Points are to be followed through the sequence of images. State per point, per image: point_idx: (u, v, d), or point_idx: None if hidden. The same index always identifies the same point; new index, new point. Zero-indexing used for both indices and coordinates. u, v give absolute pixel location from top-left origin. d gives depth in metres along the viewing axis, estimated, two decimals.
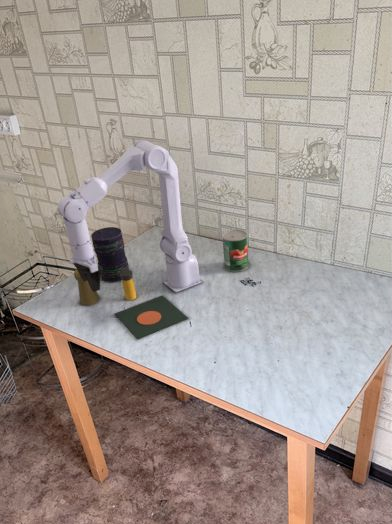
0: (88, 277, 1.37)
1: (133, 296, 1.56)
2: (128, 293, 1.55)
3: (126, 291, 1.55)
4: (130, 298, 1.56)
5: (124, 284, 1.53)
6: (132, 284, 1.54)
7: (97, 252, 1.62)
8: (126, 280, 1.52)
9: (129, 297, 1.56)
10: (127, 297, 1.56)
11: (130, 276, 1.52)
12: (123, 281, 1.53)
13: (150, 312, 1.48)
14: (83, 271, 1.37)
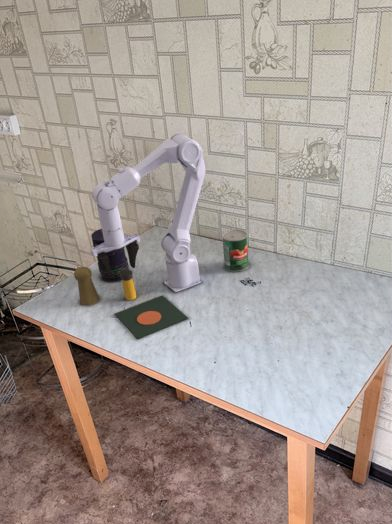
0: None
1: (133, 296, 1.56)
2: (128, 293, 1.55)
3: (126, 291, 1.55)
4: (130, 298, 1.56)
5: (124, 284, 1.53)
6: (132, 284, 1.54)
7: None
8: (126, 280, 1.52)
9: (129, 297, 1.56)
10: (127, 297, 1.56)
11: (130, 276, 1.52)
12: (123, 281, 1.53)
13: (150, 312, 1.48)
14: None
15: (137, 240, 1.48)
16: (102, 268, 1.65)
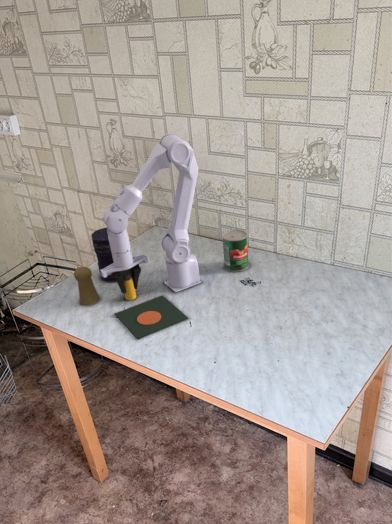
0: None
1: (133, 296, 1.56)
2: (128, 293, 1.55)
3: (126, 291, 1.55)
4: (130, 298, 1.56)
5: (124, 284, 1.53)
6: (132, 284, 1.54)
7: (97, 252, 1.62)
8: (126, 280, 1.52)
9: (129, 297, 1.56)
10: (127, 297, 1.56)
11: (130, 276, 1.52)
12: None
13: (150, 312, 1.48)
14: None
15: (145, 261, 1.53)
16: (102, 268, 1.65)
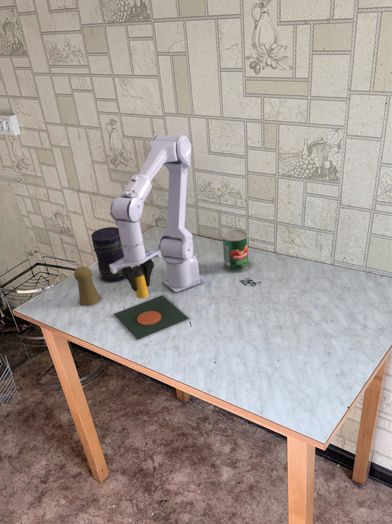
0: None
1: (144, 293, 1.42)
2: (140, 291, 1.41)
3: (137, 288, 1.41)
4: (141, 296, 1.42)
5: (135, 281, 1.39)
6: (144, 281, 1.40)
7: (97, 252, 1.62)
8: (137, 277, 1.38)
9: (140, 295, 1.42)
10: (138, 295, 1.42)
11: (142, 272, 1.38)
12: None
13: (150, 312, 1.48)
14: None
15: (158, 255, 1.39)
16: (102, 268, 1.65)
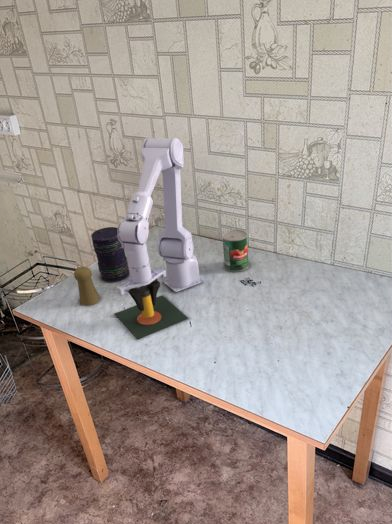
0: (128, 292, 1.40)
1: (151, 313, 1.44)
2: (146, 310, 1.43)
3: (144, 308, 1.42)
4: (148, 316, 1.44)
5: (142, 301, 1.41)
6: (150, 300, 1.42)
7: (97, 252, 1.62)
8: (144, 297, 1.40)
9: (147, 315, 1.43)
10: (145, 315, 1.44)
11: (148, 292, 1.40)
12: None
13: None
14: None
15: (163, 274, 1.41)
16: (102, 268, 1.65)
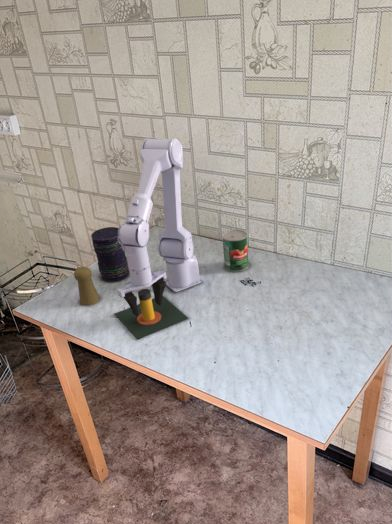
0: (123, 297, 1.40)
1: (151, 316, 1.44)
2: (147, 314, 1.43)
3: (144, 311, 1.43)
4: (149, 319, 1.44)
5: (142, 304, 1.42)
6: (151, 304, 1.42)
7: (97, 252, 1.62)
8: (144, 300, 1.41)
9: (147, 318, 1.44)
10: (145, 318, 1.44)
11: (149, 295, 1.41)
12: (141, 301, 1.41)
13: None
14: None
15: (164, 277, 1.42)
16: (102, 268, 1.65)
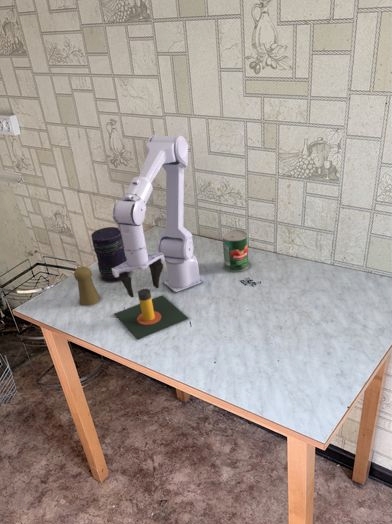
0: None
1: (151, 316, 1.44)
2: (147, 314, 1.43)
3: (144, 311, 1.43)
4: (149, 319, 1.44)
5: (142, 304, 1.42)
6: (151, 304, 1.42)
7: (97, 252, 1.62)
8: (144, 300, 1.41)
9: (147, 318, 1.44)
10: (145, 318, 1.44)
11: (149, 295, 1.41)
12: (141, 301, 1.41)
13: None
14: (158, 266, 1.37)
15: None
16: (102, 268, 1.65)
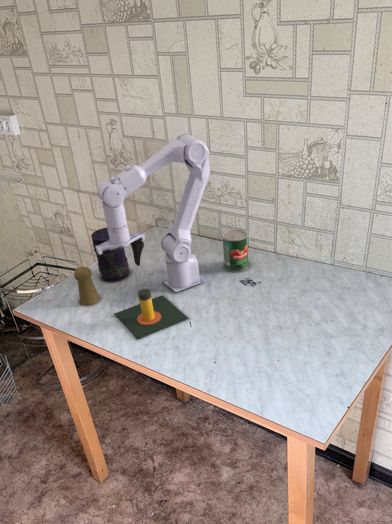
0: None
1: (151, 316, 1.44)
2: (147, 314, 1.43)
3: (144, 311, 1.43)
4: (149, 319, 1.44)
5: (142, 304, 1.42)
6: (151, 304, 1.42)
7: None
8: (144, 300, 1.41)
9: (147, 318, 1.44)
10: (145, 318, 1.44)
11: (149, 295, 1.41)
12: (141, 301, 1.41)
13: None
14: (139, 244, 1.46)
15: None
16: (102, 268, 1.65)
